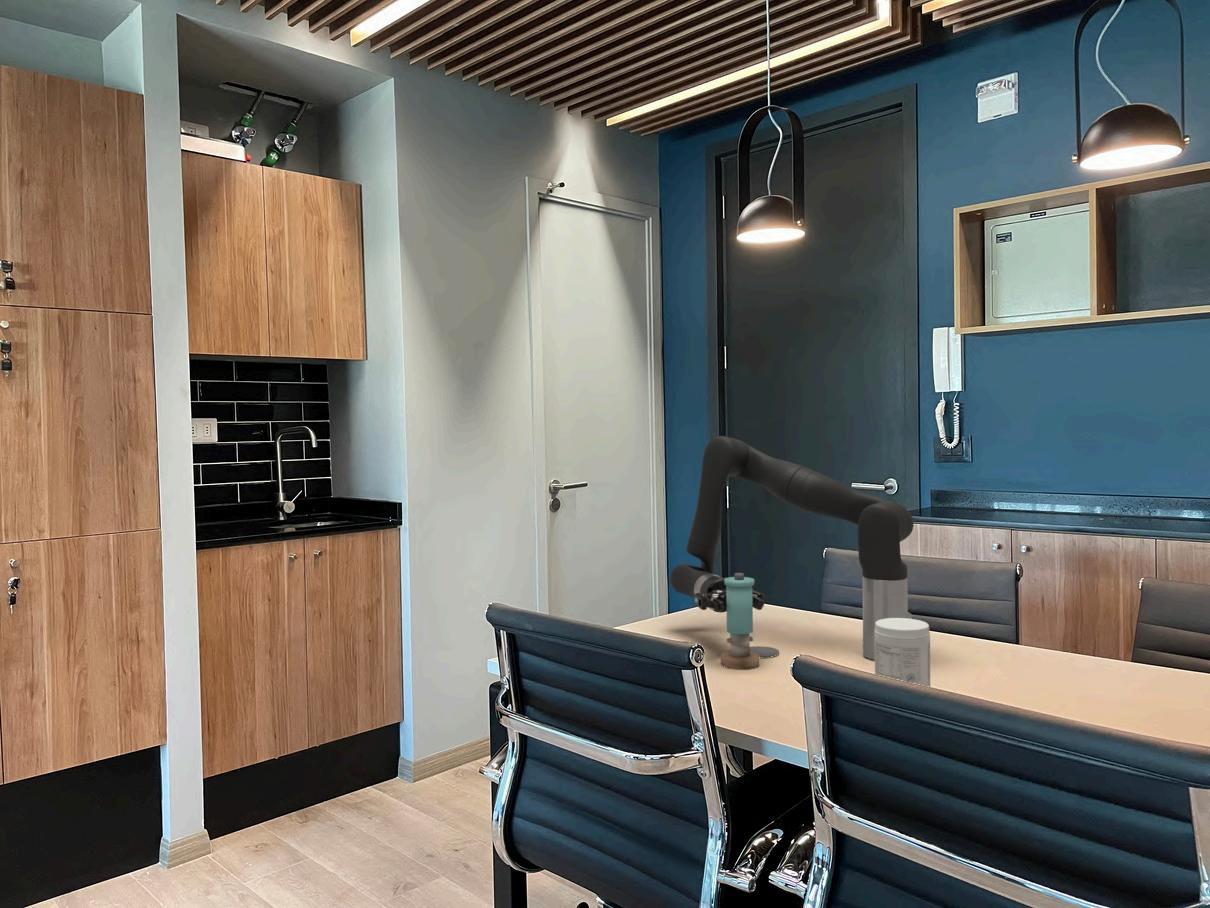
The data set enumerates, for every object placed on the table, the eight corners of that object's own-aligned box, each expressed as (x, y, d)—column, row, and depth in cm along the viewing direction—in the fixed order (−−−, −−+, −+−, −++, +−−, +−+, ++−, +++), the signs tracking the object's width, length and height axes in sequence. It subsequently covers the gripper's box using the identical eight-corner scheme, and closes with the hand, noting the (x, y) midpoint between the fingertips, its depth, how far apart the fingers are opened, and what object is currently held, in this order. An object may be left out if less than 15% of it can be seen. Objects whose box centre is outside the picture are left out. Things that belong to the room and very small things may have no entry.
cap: (748, 627, 194) (747, 570, 194) (759, 633, 188) (758, 575, 188) (720, 629, 193) (720, 572, 192) (731, 635, 187) (730, 576, 186)
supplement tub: (894, 693, 169) (894, 614, 169) (941, 704, 162) (941, 623, 162) (863, 703, 163) (863, 622, 163) (911, 716, 156) (910, 631, 155)
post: (750, 658, 196) (750, 625, 195) (765, 667, 188) (765, 634, 188) (715, 660, 194) (715, 628, 194) (729, 670, 186) (728, 637, 186)
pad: (770, 647, 204) (770, 645, 204) (785, 656, 196) (784, 653, 196) (736, 650, 202) (736, 647, 202) (750, 659, 195) (750, 656, 194)
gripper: (684, 577, 204) (708, 590, 188) (744, 574, 207) (773, 586, 191) (685, 610, 204) (709, 626, 188) (744, 606, 207) (773, 621, 191)
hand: (741, 606), depth 189 cm, fingers open, 8 cm apart
